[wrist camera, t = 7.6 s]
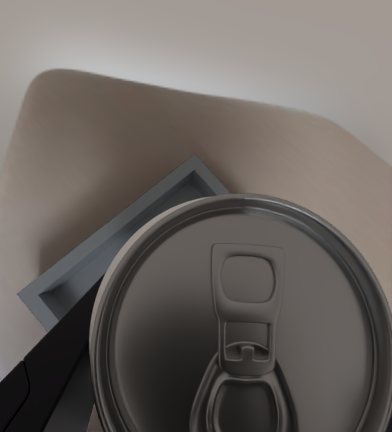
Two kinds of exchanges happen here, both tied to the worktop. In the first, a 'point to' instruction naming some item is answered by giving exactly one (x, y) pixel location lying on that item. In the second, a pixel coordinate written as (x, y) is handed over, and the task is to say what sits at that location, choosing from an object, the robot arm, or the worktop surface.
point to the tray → (113, 242)
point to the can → (241, 325)
